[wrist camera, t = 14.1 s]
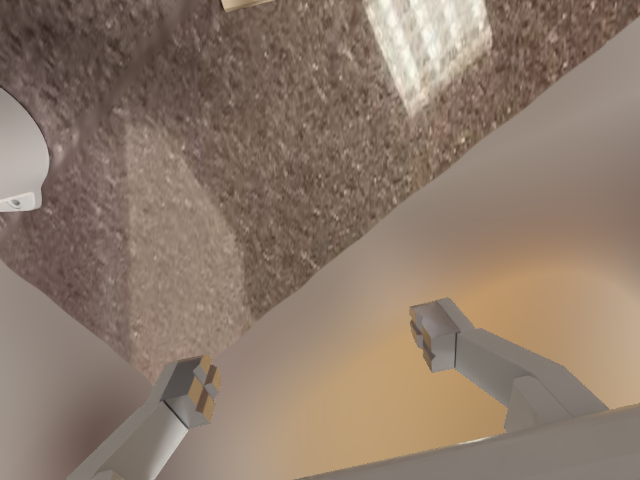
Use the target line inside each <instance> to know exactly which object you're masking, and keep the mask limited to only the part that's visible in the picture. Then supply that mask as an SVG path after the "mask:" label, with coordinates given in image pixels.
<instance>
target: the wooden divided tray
mask: <svg viewBox="0 0 640 480" xmlns="http://www.w3.org/2000/svg"><path fill="white" fill-rule="evenodd" d="M221 1H222V4H223V7H224V10H225V11H226V13H228V12H232V11H235V10H239V9H243V8H247V7H251V6H254V5H258V4H262V3H266V2H270V1H274V0H221Z"/></svg>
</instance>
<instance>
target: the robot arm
mask: <svg viewBox="0 0 640 480" xmlns="http://www.w3.org/2000/svg"><path fill="white" fill-rule="evenodd" d="M48 169H49V153H48V149H47V145H46V142H45V140H44V137H43V135H42V133H41V131H40V129H39V128H38V126H37V125H36V123H35V121H34V120H33V119H32V117H31V116H30V115H29V114H28V112H27V111H26V110H25V109H24V108H23V107H22V106H21V105H20V104H19V103H18V102H17V101H16V100H15V99H14V98H13V97H12V96H11V95H9V94H8V93H7V92H6V91H4V90H3V89H2V88H0V212H9V211H29V210H34V209H38V208H40V207H41V204H42V195H41V186H42V184H43V182H44V180H45V178H46V176H47V173H48ZM18 201H19V202H20V203H19V202H18ZM409 314H410V316H411V318H412V320H411V322H410V327H411V332H412V335H413V338H414V340H415V342H416V344H417V346H418V347H419V348H421V349H422V350H423V357H424V359H425V361H426V363H427V365H428V367H429V369H430V370H431V372H432V373H434V372H439V371H444V370H449V369H454V368H455V370H457V371H458V372H459V373H461V374H462V375H464V376H465V377H466V378H468V379H469V380H470V381H472V382H473V383H475V384H476V385H477V386H478V387H480V388H481V389H483V390H484V391H485V392H487V393H488V394H489V395H491V396H492V397H493V398H495V399H496V400H498V401H499V402H500V403H502V404H503V405H504V406H506V407H507V408H508V410H507V415H506V419H505V423H504V429H505V430H506V432H507V433H503V434H498V435H494V436H489V437H485V438H480V439H476V440H471V441H466V442H462V443H457V444H453V445H449V446H444V447H439V448H435V449H430V450H426V451H421V452H417V453H412V454H408V455H403V456H399V457H394V458H390V459H386V460H381V461H376V462H372V463H367V464H363V465H358V466H353V467H349V468H345V469H340V470H335V471H331V472H326V473H322V474H317V475H313V476H308V477H304V478H300V479H295V480H640V403H638V404H633V405H629V406H624V407H620V408H616V409H611V410H610V409H609V408H608V407H607V406H606V405H605V404H604V403H602V401H600V400H599V399H598V398H597V397H596V396H595V395H594V394H593V393H592V392H591V391H590V390H589V389H587V387H585V386H584V385H583V384H582V383H581V382H580V381H579V380H578V379H577V378H576V377H575V376H573V374H572V373H570V372H569V371H568V370H567V369H566V368H565V367H564V366H562V365H560V364H558V363H556V362H553V361H551V360H549V359H547V358H544V357H543V356H540V355H538V354H536V353H534V352H531V351H530V350H527V349H525V348H523V347H521V346H519V345H516V344H514V343H512V342H510V341H508V340H505V339H503V338H501V337H499V336H497V335H495V334H492V333H490V332H488V331H486V330H484V329H482V328H479V329H476V328H475V327H474V325H473V324H472V323H471V322H470V321H469V320H468V318H467V317H466V316H465V315H464V314H463V313H462V311H461V310H460V309H459V308H458V307H457V306H456V304H455V303H454V302H453V301H452V300H451V299H450V298H444V299H440V300H436V301H432V302H427V303H423V304H419V305H415V306H411V307H410V308H409ZM211 362H212V359H211V358H210V356H209V355H201V356H197V357H192V358H187V359H182V360H178V361H173V362H169V363H168V364H167V365H166V366H165V367H164V369H163V371H162V373H161V375H160V377H159V379H158V380H157V382H156V384H155V386H154V388H153V390H152V392H151V394H150V396H149V398H148V400H147V401H146V403H145V405H144V406H140V407H139V408H138V409H137V410H136V411H135V412H134V413H133V414H132V415H131V416H130V417H129V418H128V419H127V420H126V421H125V422H124V423H123V424H122V425H121V426H120V427H119V428H118V429H117V430H116V431H115V432H113V433H112V434H111V435H110V436H109V438H107V439H106V440H105V441H104V442H103V443H102V444H101V445H100V446H99V447H98V448H97V449H96V450H95V451H94V452H93V453H92V454H91V455H90V456H89V457H88V458H87V459H86V460H85V461H84V462H83V463H82V464H80V465H79V467H77V468H76V469H75V470H74V471H73V472H72V473H71V474H70V475H69V476H68V477H67V478H66V480H154V479H155V477H156V476H157V475H158V473H159V472H160V470H161V469H162V468H163V466H164V465H165V463H166V462H167V460H168V459H169V457H170V456H171V455H172V453H173V452H174V450H175V449H176V447H177V446H178V445H179V443H180V442H181V440H182V439H183V437H184V436H185V435H186V433H187V432H188V429H190V428H194V427H198V426H202V425H205V424H209V423H211V419H212V416H213V412H214V409H215V402H214V400H213V399H214V398H215V396H216V395H217V394H218V393H219V390H220V386H221V375H220V372H219V370H218V368H217V367H215V366H213V365H211Z"/></svg>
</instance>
